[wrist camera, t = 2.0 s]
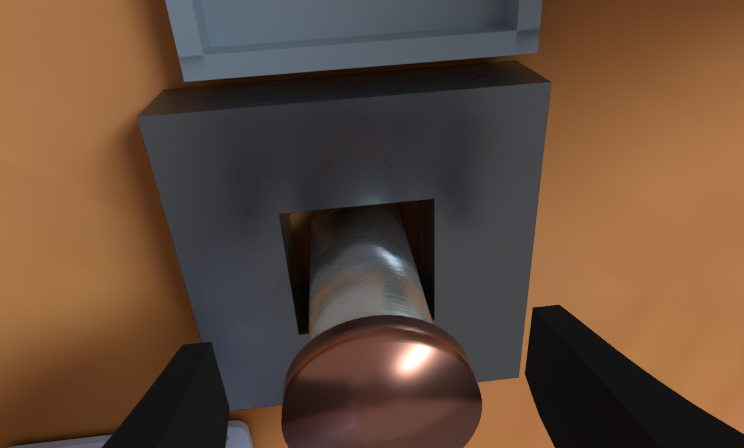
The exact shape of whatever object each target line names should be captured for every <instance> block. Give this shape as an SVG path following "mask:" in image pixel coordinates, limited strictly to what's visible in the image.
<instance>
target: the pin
mask: <svg viewBox="0 0 744 448" xmlns="http://www.w3.org/2000/svg"><path fill="white" fill-rule="evenodd" d="M481 412H482V398H481V393H480V389H479V387H478V384H477V381H476V378H475V376H474V373H473V370H472V367H471V365H470V362H469V359H468V357H467V355H466V353H465V351H464V349H463V348H462V346H461V345H460V344H459V343H458V342H457V341H456V339H455V338H454V337H452V336H451V335H450V334H449V333H447V332H446V331H445V330H443V329H441V328H439V327H438V326H436V325H434V324H433V322H432V319H431V316H430V312H429V309H428V306H427V302H426V299H425V296H424V292H423V289H422V286H421V283H420V279H419V276H418V273H417V269H416V266H415V263H414V259H413V256H412V253H411V249H410V246H409V243H408V240H407V236H406V233H405V230H404V226H403V223H402V220H401V216H400V213H399V211H398V209H397V207H396V206H395V204H394V203H385V204H375V205H364V206H354V207H343V208H333V209H322V210H315V212H314V215H313V217H312V221H311V243H310V297H309V343H308V344H306V345H305V346H304V347H303V348H302V349H301V351H300V352H299V353H298V354H297V355H296V357H295V358H294V360H293V361H292V363H291V364H290V367H289V369H288V371H287V374H286V377H285V381H284V392H283V406H282V420H281V425H282V432H283V436H284V439H285V441H286V443H287V445H288V447H289V448H463V447H464V446H465V445H466V444H467V443H468V441H469V440H470V439H471V437H472V436H473V434H474V432H475V430H476V428H477V427H478V424H479V421H480V418H481Z"/></svg>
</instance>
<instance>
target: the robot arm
mask: <svg viewBox="0 0 744 448" xmlns="http://www.w3.org/2000/svg"><path fill="white" fill-rule="evenodd" d="M525 375H526V378H527V381H528V384H529V387H530V390H531V393H532V396H533V399H534V402H535V405H536V407H537V410H538V413H539V416H540V418H541V420H542V422H543V424H544V426H545V428H546V430H547V432H548V434H549V436H550V438H551V440H552V442H553V445H554V447H555V448H744V434H743V433H741V432H739V431H737V430H736V429H734V428H732V427H731V426H729V425H727V424H726V423H724V422H722V421H721V420H719V419H717V418H716V417H714V416H712V415H710V414H709V413H707V412H705V411H704V410H702V409H701V408H699V407H697V406H696V405H694V404H693V403H691V402H690V401H688V400H687V399H685V398H684V397H682V396H681V395H679V394H678V393H676V392H675V391H673V390H672V389H670V388H669V387H667V386H666V385H664V384H663V383H661V382H660V381H658V380H657V379H656V378H654V377H653V376H651V375H650V374H649V373H647V372H646V371H644V370H643V369H642V368H640V367H639V366H638V365H636V364H635V363H633V362H632V361H631V360H629V359H628V358H627V357H625V356H624V355H623V354H621V353H620V352H619V351H618V350H616V349H615V348H614V347H612V346H611V345H610V344H608V343H607V342H606V341H605V340H603V339H602V338H601V337H600V336H598V335H597V334H596V333H595V332H593V331H592V330H591V329H589V328H588V327H587V326H586V325H584V324H583V323H582V322H581V321H579V320H578V319H577V318H576V317H574V316H573V315H572V314H571V313H569V312H568V311H567V310H565V309H564V308H563V307H561V306H560V305H553V306H544V307H534V308H533V311H532V319H531V328H530V336H529V344H528V353H527V361H526V369H525ZM228 418H229V403H228V400H227V396H226V393H225V389H224V386H223V382H222V378H221V375H220V371H219V368H218V364H217V360H216V357H215V353H214V350H213V346H212V343H211V342H205V343H195V344H186V345H183V346H182V347H181V348H180V349H179V350H178V352H177V353H176V354H175V356H174V357H173V358H172V359H171V361H170V362H169V363H168V365H167V366H166V367H165V369H164V370H163V372H162V373H161V374H160V376H159V377H158V378H157V379H156V381H155V382H154V383H153V385H152V386H151V387H150V389H149V390H148V391H147V393H146V394H145V395H144V396H143V398H142V399H141V400H140V402H139V403H138V404H137V405H136V407H135V408H134V409H133V410H132V412H131V413H130V414H129V415H128V417H127V418H126V419H125V420H124V422H123V423H122V424H121V425H120V426H119V428H118V429H117V430H116V431H115V432H114V434H112V435H104V436H95V437H87V438H78V439H70V440H61V441H53V442H44V443H35V444H27V445H18V446H11V447H7V448H253V444H252V440H251V436H250V432H249V428H248V426H247V424H245V423H244V422H242V421H239V420H232V421H228Z"/></svg>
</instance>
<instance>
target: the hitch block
mask: <svg viewBox="0 0 744 448" xmlns="http://www.w3.org/2000/svg"><path fill="white" fill-rule="evenodd" d="M550 88H551V82H550V81H549V80H547V79H545V78H544V77H542V76H540V75H539V74H537V73H536V72H534V71H532V70H531V69H529V68H527V67H526V66H524V65H523V64H521V63H519V62H518V61H510V62H498V63H485V64H473V65H461V66H449V67H437V68H424V69H412V70H400V71H388V72H376V73H364V74H351V75H339V76H327V77H315V78H303V79H290V80H278V81H266V82H254V83H242V84H229V85H217V86H205V87H193V88H181V89H168V90H163V91H162V92H161V93H160V94H159V95H158V96H157V97H156V98H155V99H154V100H153V101H152V102H151V103H150V104H149V105H148V106H147V107H146V108H145V109H144V110H143V111H142V112H141V113H140V114H139V115H138V116H137V120H138V123H139V126H140V130H141V133H142V137H143V140H144V144H145V147H146V151H147V154H148V158H149V161H150V165H151V168H152V171H153V175H154V178H155V182H156V185H157V189H158V192H159V196H160V199H161V203H162V206H163V210H164V213H165V216H166V220H167V223H168V227H169V230H170V234H171V237H172V241H173V244H174V248H175V251H176V255H177V258H178V262H179V265H180V268H181V272H182V275H183V279H184V282H185V286H186V289H187V293H188V296H189V300H190V303H191V307H192V310H193V313H194V317H195V320H196V324H197V327H198V331H199V334H200V338H201V341H202V343H205V342H211V343H212V346H213V350H214V353H215V357H216V360H217V364H218V368H219V371H220V375H221V378H222V382H223V386H224V389H225V393H226V396H227V400H228V403H229V411H233V410H242V409H250V408H259V407H268V406H276V405H283V392H284V381H285V377H286V374H287V371H288V369H289V367H290V364H291V363H292V361H293V360H294V358H295V357H296V355H297V354H298V353H299V352H300V351H301V349H302V348H303V347H304V346H305V345H306V344H308V343H309V297H310V286H303V287H301V285H300V278H299V272H298V265H297V259H296V252H295V246H294V239H293V233H292V227H291V220H290V214H289V213H291V212H302V211H312V210H322V209H333V208H343V207H354V206H364V205H375V204H385V203H396V202H406V201H416V200H419V221H420V274H419V275H418V276H419V279H420V283H421V286H422V289H423V292H424V296H425V299H426V302H427V306H428V309H429V312H430V316H431V319H432V322H433V324H434V325H436V326H438V327H439V328H441V329H443V330H445V331H446V332H447V333H449V334H450V335H451V336H452V337H454V338H455V339H456V341H457V342H458V343H459V344H460V345H461V346H462V348H463V349H464V351H465V353H466V355H467V357H468V359H469V362H470V365H471V367H472V370H473V373H474V376H475V378H476V381H477V382H484V381H493V380H501V379H510V378H518V377H519V370H520V361H521V352H522V343H523V334H524V325H525V316H526V306H527V297H528V288H529V279H530V270H531V261H532V252H533V243H534V234H535V224H536V215H537V206H538V197H539V188H540V179H541V170H542V161H543V152H544V142H545V133H546V124H547V115H548V106H549V97H550Z"/></svg>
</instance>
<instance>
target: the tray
mask: <svg viewBox="0 0 744 448" xmlns="http://www.w3.org/2000/svg"><path fill="white" fill-rule="evenodd" d="M165 2H166V6H167V10H168V15H169V19H170V23H171V28H172V32H173V36H174V40H175V45H176V49H177V53H178V57H179V62H180V66H181V70H182V74H183V79H184V82H189V81H201V80H214V79H226V78H238V77H251V76H263V75H275V74H288V73H300V72H312V71H324V70H337V69H349V68H361V67H374V66H386V65H398V64H410V63H423V62H435V61H447V60H460V59H472V58H484V57H497V56H509V55H521V54H533V53H538V47H539V36H540V26H541V15H542V5H543V0H165Z"/></svg>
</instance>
